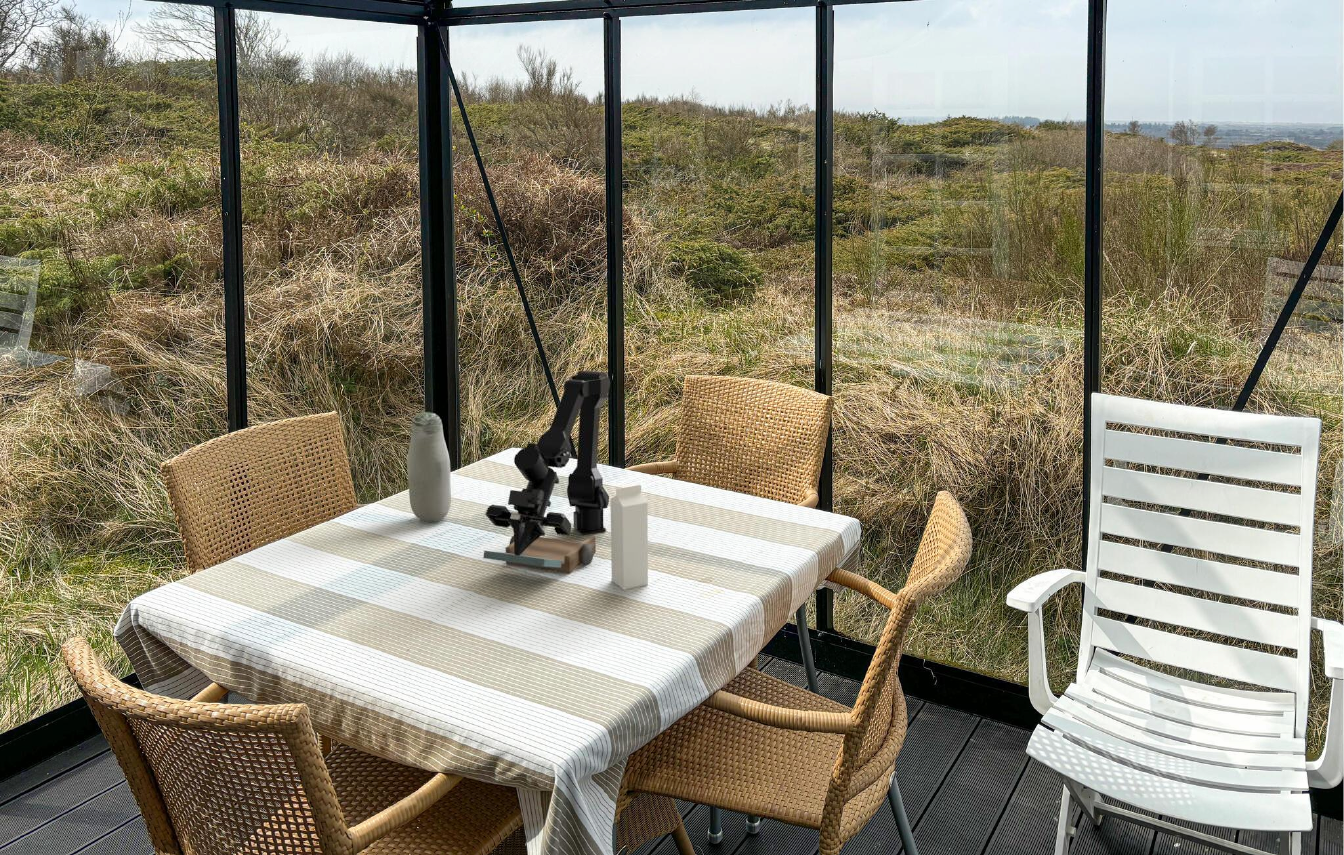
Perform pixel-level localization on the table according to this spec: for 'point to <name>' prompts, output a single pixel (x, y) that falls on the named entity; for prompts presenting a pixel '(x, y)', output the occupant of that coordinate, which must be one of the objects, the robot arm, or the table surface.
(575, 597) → the table surface
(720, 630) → the table surface
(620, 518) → the milk
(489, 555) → the panel
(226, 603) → the table surface
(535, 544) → the trailer
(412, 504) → the grey bottle
